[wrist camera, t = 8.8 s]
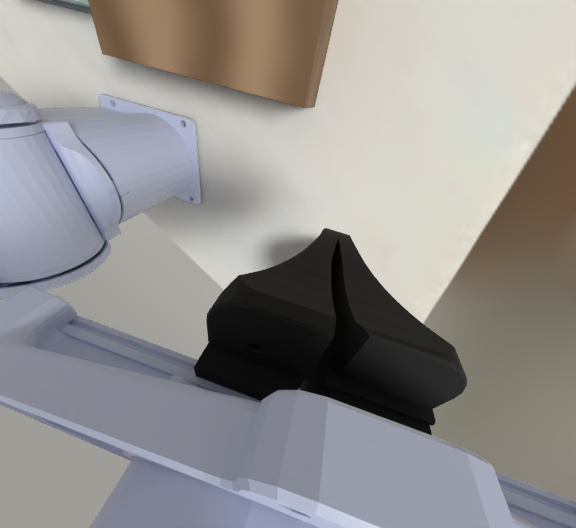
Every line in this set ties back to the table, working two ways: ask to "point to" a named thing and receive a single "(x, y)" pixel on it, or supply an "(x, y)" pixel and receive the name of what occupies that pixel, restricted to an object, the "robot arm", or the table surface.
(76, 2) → the mint green flat block
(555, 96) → the table surface
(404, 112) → the table surface
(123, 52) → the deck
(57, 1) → the mat
